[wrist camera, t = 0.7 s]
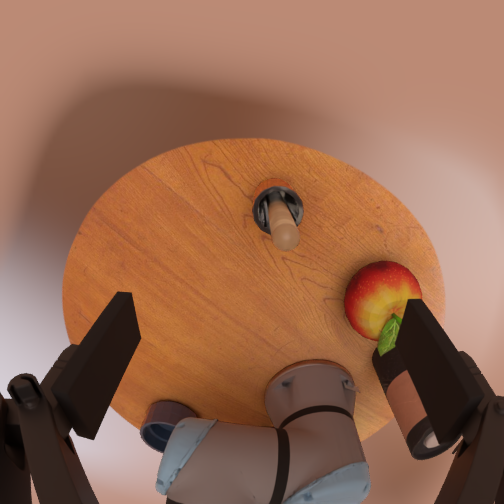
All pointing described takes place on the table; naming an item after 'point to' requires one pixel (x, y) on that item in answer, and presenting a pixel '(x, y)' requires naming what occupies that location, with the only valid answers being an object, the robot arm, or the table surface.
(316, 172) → the table surface
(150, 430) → the bowl
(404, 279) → the fruit
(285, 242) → the stick
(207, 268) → the table surface
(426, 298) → the table surface
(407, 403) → the travel mug
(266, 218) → the holder
